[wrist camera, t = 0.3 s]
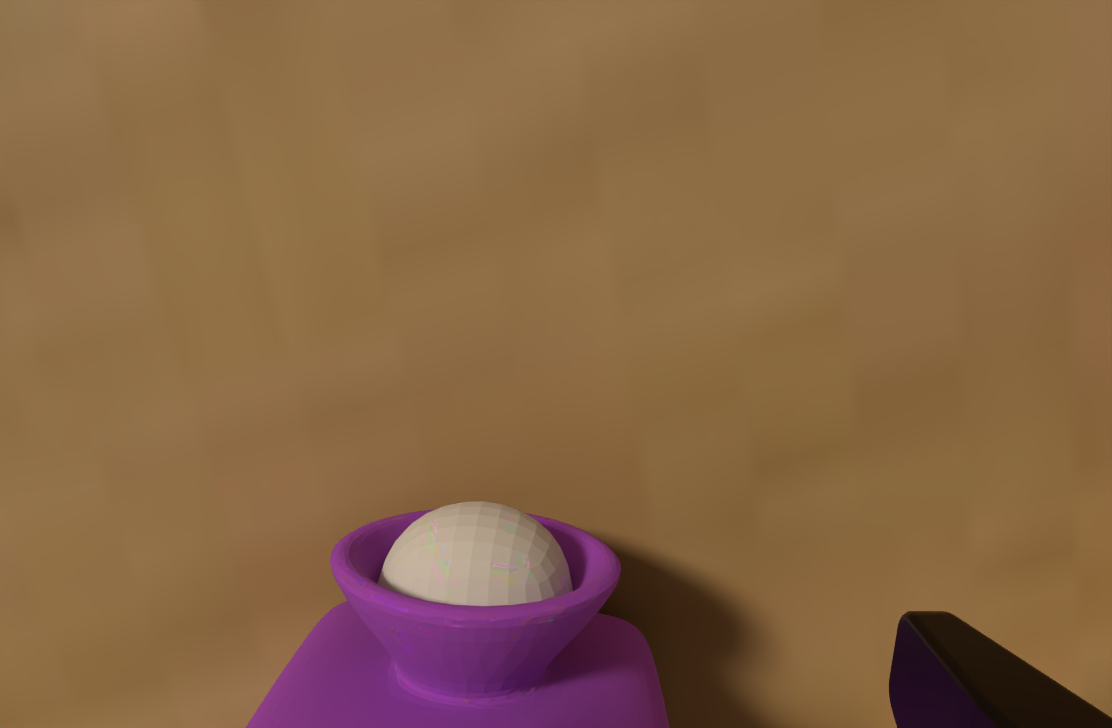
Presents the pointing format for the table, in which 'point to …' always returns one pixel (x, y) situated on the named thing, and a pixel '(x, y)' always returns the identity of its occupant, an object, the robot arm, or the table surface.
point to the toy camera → (470, 631)
